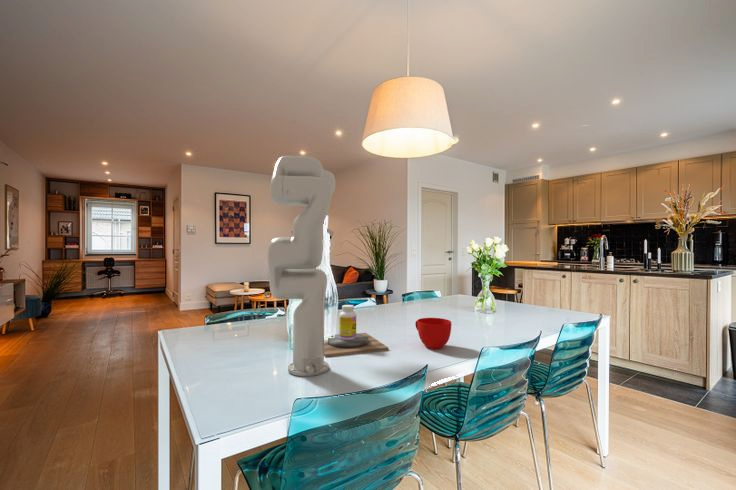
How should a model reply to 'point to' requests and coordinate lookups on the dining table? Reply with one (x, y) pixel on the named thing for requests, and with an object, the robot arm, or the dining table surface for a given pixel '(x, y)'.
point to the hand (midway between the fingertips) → (312, 252)
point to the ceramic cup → (434, 332)
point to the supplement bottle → (347, 323)
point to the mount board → (359, 350)
